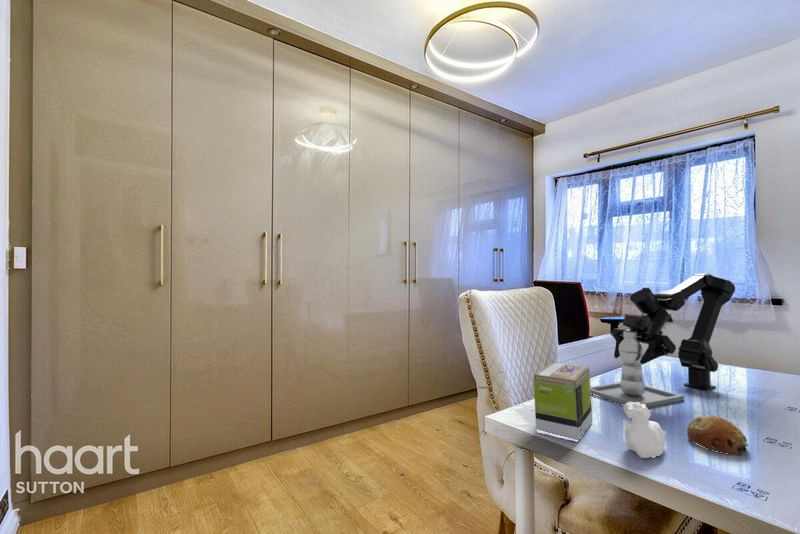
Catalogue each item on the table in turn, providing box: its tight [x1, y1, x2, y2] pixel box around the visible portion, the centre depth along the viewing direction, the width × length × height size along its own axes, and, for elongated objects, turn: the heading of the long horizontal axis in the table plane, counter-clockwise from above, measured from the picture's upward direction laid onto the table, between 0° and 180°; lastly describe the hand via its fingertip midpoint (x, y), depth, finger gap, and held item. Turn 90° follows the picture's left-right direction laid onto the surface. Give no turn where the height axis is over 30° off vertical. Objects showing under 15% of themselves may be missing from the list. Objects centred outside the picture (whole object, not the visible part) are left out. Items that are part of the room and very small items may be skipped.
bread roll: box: [686, 415, 749, 455], centre depth 82 cm, size 10×10×8 cm
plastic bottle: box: [619, 330, 646, 396], centre depth 115 cm, size 6×7×20 cm
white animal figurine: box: [622, 402, 666, 459], centre depth 80 cm, size 12×8×11 cm
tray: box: [590, 381, 685, 409], centre depth 115 cm, size 20×18×2 cm
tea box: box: [533, 362, 593, 440], centre depth 92 cm, size 15×10×15 cm
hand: (627, 360), depth 115 cm, fingers open, 9 cm apart
